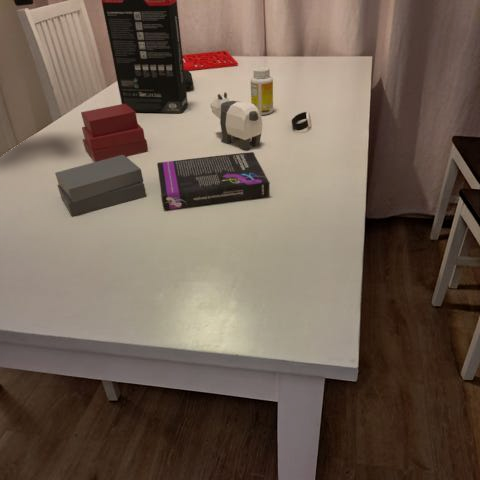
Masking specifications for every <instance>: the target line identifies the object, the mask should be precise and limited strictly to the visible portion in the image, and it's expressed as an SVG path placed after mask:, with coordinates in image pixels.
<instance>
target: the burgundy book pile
mask: <svg viewBox="0 0 480 480" xmlns="http://www.w3.org/2000/svg"><path fill="white" fill-rule="evenodd" d="M81 130H82V134H83V139H82V143H83V146H84V150H85V152H86V153H87V154H88V155H89V157H90V158H91V159H92V161H93V163H94V162H97V161H101V160H105V159H109V158H112V157H116V156H120V155H125V156H126V157H128V156H133V155H138V154H142V153H146V152H149V147H148V142H147V139H146V138H145V132H144V128H143V127H142V126H141V125H140V124H139V123H138V128H135V129H130V130H126V131H121V132H117V133H112V134H107V135H103V136H98V137H93V136H92V135H91V134H90V133H89V132H88V131H87V130H86V128H85V126H81Z"/></svg>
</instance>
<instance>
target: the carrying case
mask: <svg viewBox="0 0 480 480" xmlns="http://www.w3.org/2000/svg"><path fill="white" fill-rule="evenodd" d="M184 74H185V83H186V92H188V91H191V90H192V89H193V87H194V80H193V76H192V75H193V74H192V73H191V72H190V70H184Z"/></svg>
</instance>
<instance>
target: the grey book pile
mask: <svg viewBox="0 0 480 480" xmlns="http://www.w3.org/2000/svg"><path fill="white" fill-rule="evenodd" d="M54 174H55V177H56V180H57V185H56V186H57V188H58V192H59V194H60V197H61V199H62V201H63V202H64V203H63V204H65V207H66V208H67V210H68V212H69V213H70V215H71V217H74V216H78V215H82V214H86V213H89V212H93V211H97V210H100V209H104V208H108V207H111V206H115V205H116V206H117V205H119V204H122V203H126V202H129V201H134V200H137V199H141V198H144V197H147V193H146V187H145V184H144V178H143V173H142V169H141V168H140V167H139V165H137V164H136V163H135V162H133V161H132V160H130V158H128V156H125V155H120V156H116V157H112V158H109V159H105V160H101V161H97V162H94V161H93V162H90V163H85V164H83V165H79V166H75V167H72V168H68V169H64V170H60V171H56V172H54Z"/></svg>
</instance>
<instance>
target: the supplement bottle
mask: <svg viewBox="0 0 480 480" xmlns="http://www.w3.org/2000/svg"><path fill="white" fill-rule="evenodd" d="M270 71H271V70H270V67H267V66H256V67H254V68H253V74H252V75H253V76H252V77H251V78H250V103H252V104H254V105H255V106H256V107H257V109H258V110H259V112H260V114H261V116H266V115H270V114H272V112H274V78H273V76H271V75H270V74H271V72H270Z"/></svg>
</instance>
